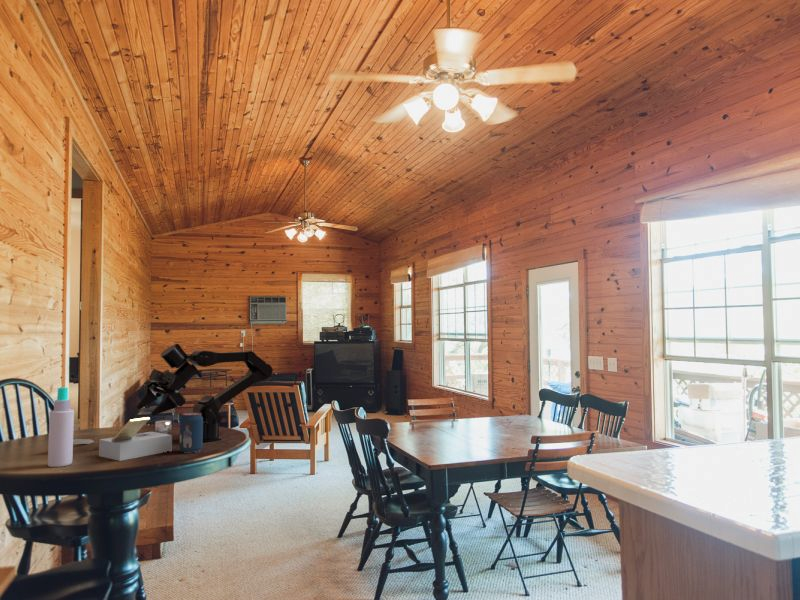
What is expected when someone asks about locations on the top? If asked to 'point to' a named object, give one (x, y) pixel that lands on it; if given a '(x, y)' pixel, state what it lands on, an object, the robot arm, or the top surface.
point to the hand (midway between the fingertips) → (144, 411)
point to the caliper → (82, 441)
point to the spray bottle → (61, 431)
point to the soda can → (191, 432)
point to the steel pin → (163, 426)
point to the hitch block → (135, 446)
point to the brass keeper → (131, 428)
